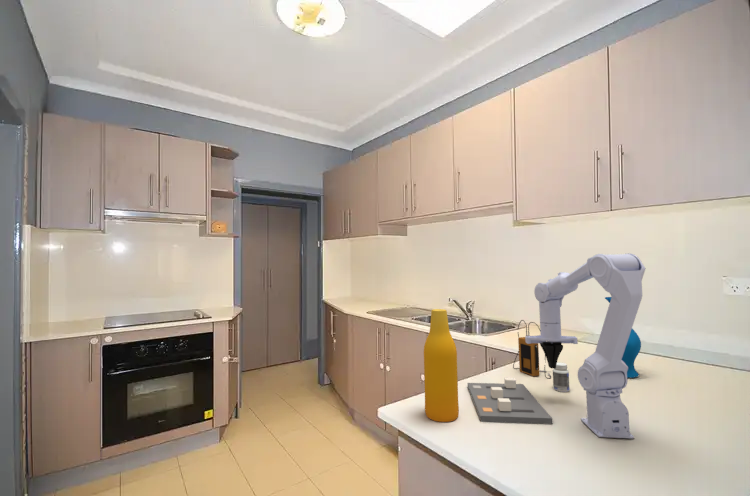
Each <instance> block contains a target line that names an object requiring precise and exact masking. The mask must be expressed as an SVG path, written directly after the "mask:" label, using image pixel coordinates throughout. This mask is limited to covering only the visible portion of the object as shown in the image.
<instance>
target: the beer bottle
mask: <svg viewBox="0 0 750 496" xmlns="http://www.w3.org/2000/svg"><path fill="white" fill-rule="evenodd" d="M430 312H431V313H430V326H429V332H428V335H427V337H426V340H425V342H424V346H423V375H424V378H423V379H424V412H425V413H424V414H425V415H426V418H428V419H430V420H432V421H434V422H439V423H449V422H453V421H456V420H457V419H458V417H459V415H460V409H459V408H460V407H459V387H458V386H459V383H458V377H459V376H458V350H457V346H456V343H455V341H454V338H453V337H452V334H451V332H450V327H449V318H448V311H447V309H443V308H442V309H441V308H433V309H431V311H430Z"/></svg>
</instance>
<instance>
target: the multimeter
mask: <svg viewBox="0 0 750 496" xmlns="http://www.w3.org/2000/svg"><path fill="white" fill-rule="evenodd" d="M521 322H524V324H525V330H526V331H525V336H531V335H530V324H532V323H533V324H535V325H536V326H537V328H538V330H539V331H540V326H539V325H538V324H537V323H536V322H534V321H530V322H529V323H528V326H527V323H526V321H525V320H524V319H521V320H520V321H519V323H518V326H517V329H519V327H520V325H521ZM517 336H518V339H517V341H518V342H517V343H518V351H517V353H516V356H515V358H514V361H513V364H512V368H513V369H514V370H516V369H517V370H518V369H519V371H520V373H524V374H527V375H529V376H532V377H539V376H540V373H547V376H548V377H547V376H546V374H544V377H545V379H551V378H552V374H550V371H548V370H546V366H544V369H543V370H540V356H539V355H540V351H539V343H531V344H527V343H526V342H525V336H522V337H521V336H520V333H517ZM517 358H518V361H519V363H518V364H519V366H518V367H517V368H516V367H515V363H516V360H517ZM544 359H547V358H546V355H545V354H544Z"/></svg>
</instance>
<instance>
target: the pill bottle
mask: <svg viewBox="0 0 750 496" xmlns="http://www.w3.org/2000/svg"><path fill="white" fill-rule="evenodd" d="M552 383H553V384H552V388H553V390H555V391H556V392H560V393H567V392H569V391H570V372H569V370H568V364H567V363H565V362H558V361H557V364H556V368H552Z"/></svg>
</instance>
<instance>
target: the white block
mask: <svg viewBox="0 0 750 496" xmlns="http://www.w3.org/2000/svg"><path fill="white" fill-rule="evenodd" d="M497 399H498V409H499V410H500V411H511V401H510V400H509V398H497Z"/></svg>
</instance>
